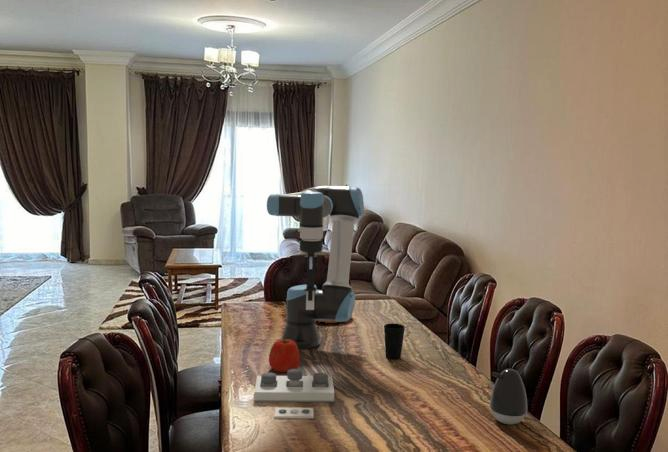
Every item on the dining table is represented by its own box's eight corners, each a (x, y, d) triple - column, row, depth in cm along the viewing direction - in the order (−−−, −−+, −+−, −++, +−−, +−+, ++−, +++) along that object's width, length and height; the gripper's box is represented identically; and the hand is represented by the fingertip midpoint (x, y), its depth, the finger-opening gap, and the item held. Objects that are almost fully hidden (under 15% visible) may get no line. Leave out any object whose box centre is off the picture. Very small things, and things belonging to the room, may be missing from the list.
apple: (286, 361, 216) (287, 333, 215) (306, 369, 208) (307, 339, 207) (262, 368, 208) (263, 338, 207) (282, 376, 200) (283, 346, 199)
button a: (312, 387, 189) (313, 372, 189) (327, 387, 189) (327, 373, 189) (313, 393, 185) (313, 378, 184) (328, 393, 185) (328, 378, 184)
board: (257, 384, 193) (257, 375, 192) (331, 385, 194) (331, 376, 194) (254, 401, 179) (254, 392, 179) (334, 402, 180) (334, 392, 180)
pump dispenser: (483, 413, 175) (486, 363, 174) (517, 413, 176) (521, 363, 175) (495, 428, 165) (499, 375, 164) (532, 428, 166) (535, 375, 165)
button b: (287, 383, 188) (287, 368, 188) (301, 383, 189) (302, 368, 188) (287, 389, 184) (287, 373, 183) (302, 389, 184) (302, 374, 184)
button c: (261, 387, 188) (261, 372, 188) (276, 387, 188) (276, 372, 188) (260, 392, 183) (260, 377, 183) (275, 393, 184) (275, 377, 183)
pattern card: (275, 409, 174) (275, 406, 174) (313, 409, 174) (313, 406, 174) (274, 418, 168) (274, 415, 168) (313, 418, 168) (313, 415, 168)
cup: (402, 361, 219) (403, 329, 218) (381, 359, 221) (383, 328, 220) (404, 355, 227) (405, 324, 226) (384, 353, 228) (385, 322, 227)
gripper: (300, 236, 202) (299, 304, 205) (299, 242, 189) (298, 314, 192) (322, 236, 202) (320, 304, 205) (323, 242, 189) (321, 314, 193)
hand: (310, 309), depth 199 cm, fingers closed
